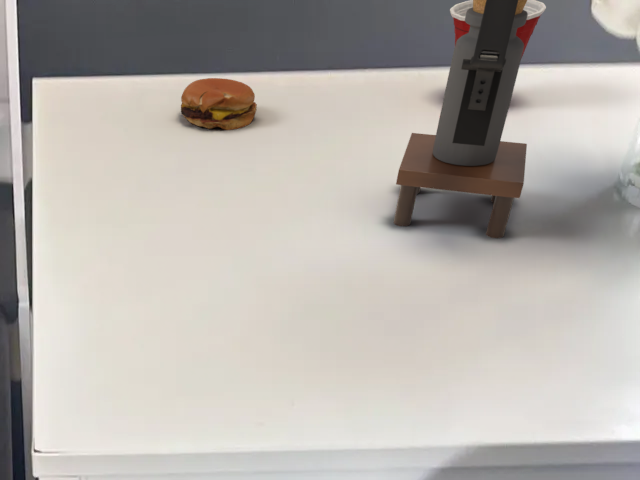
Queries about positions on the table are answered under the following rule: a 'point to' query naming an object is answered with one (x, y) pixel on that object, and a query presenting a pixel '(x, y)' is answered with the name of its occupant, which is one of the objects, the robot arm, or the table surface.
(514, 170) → the stool
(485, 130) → the robot arm
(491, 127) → the bottle
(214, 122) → the burger
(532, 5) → the plastic cup
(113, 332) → the table surface
